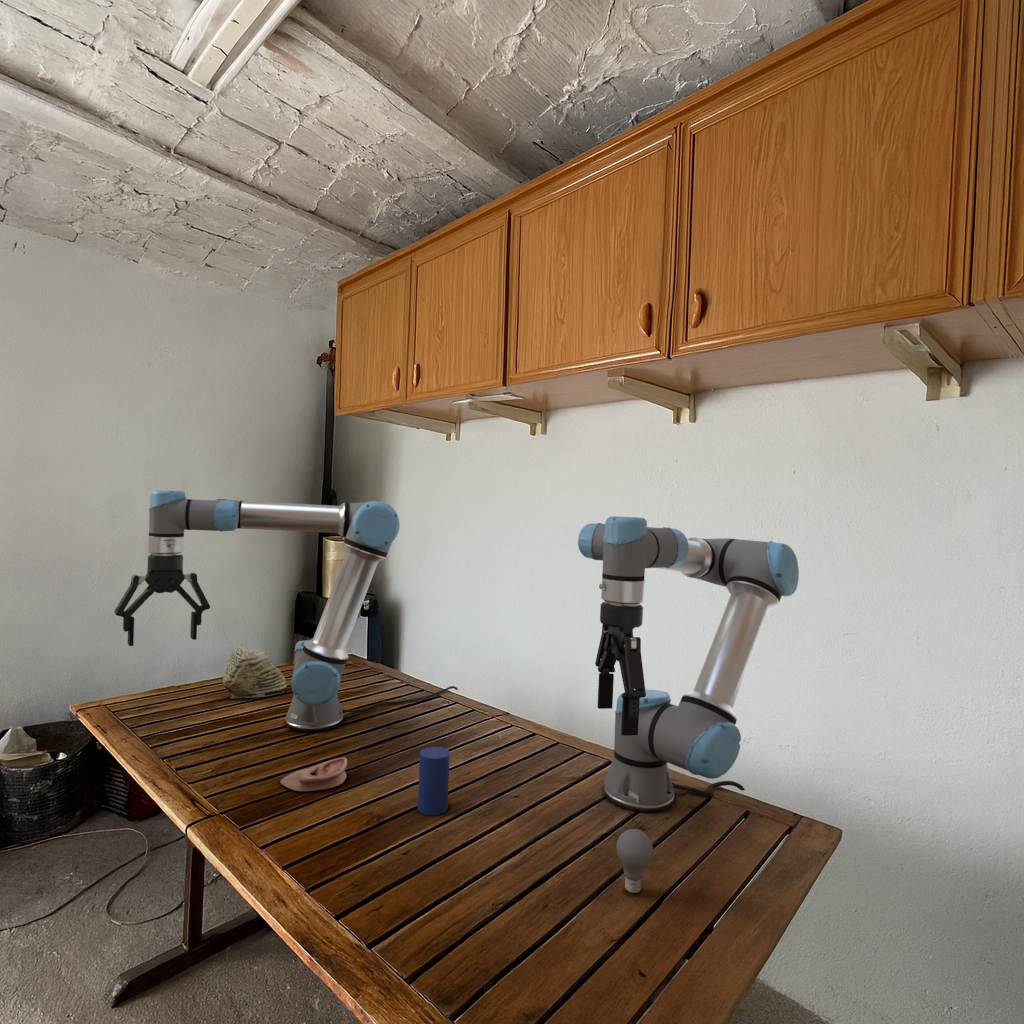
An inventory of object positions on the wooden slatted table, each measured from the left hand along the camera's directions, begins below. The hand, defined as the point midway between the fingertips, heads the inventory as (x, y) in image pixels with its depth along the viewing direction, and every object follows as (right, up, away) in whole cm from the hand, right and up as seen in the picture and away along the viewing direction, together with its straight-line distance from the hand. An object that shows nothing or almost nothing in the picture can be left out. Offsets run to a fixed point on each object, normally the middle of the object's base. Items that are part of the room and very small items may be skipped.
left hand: (162, 641), depth 153 cm
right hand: (+103, -6, -39) cm, 111 cm away
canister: (+68, -30, -22) cm, 77 cm away
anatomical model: (+40, -29, -12) cm, 51 cm away
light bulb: (+105, -32, -47) cm, 119 cm away
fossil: (+4, -26, +45) cm, 52 cm away
